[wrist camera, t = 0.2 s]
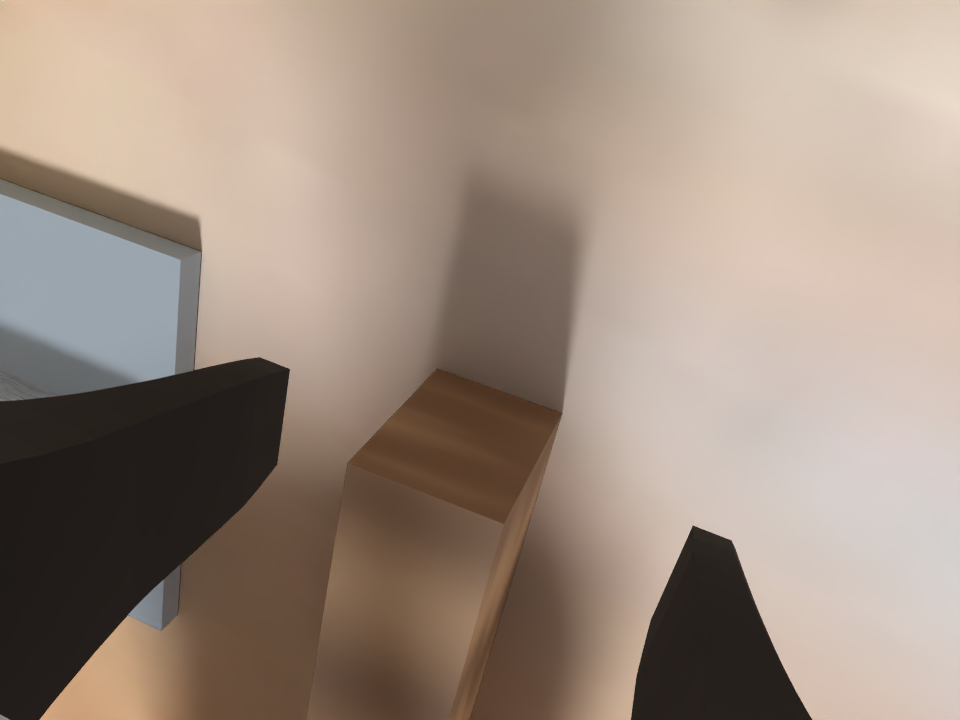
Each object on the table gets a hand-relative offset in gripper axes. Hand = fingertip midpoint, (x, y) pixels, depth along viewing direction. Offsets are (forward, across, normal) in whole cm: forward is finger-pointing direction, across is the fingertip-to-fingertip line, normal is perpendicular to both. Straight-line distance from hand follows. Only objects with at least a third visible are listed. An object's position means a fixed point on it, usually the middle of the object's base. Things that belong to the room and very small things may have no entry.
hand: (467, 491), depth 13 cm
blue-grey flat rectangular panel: (+10, +17, +10) cm, 22 cm away
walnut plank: (+10, +2, +10) cm, 14 cm away
